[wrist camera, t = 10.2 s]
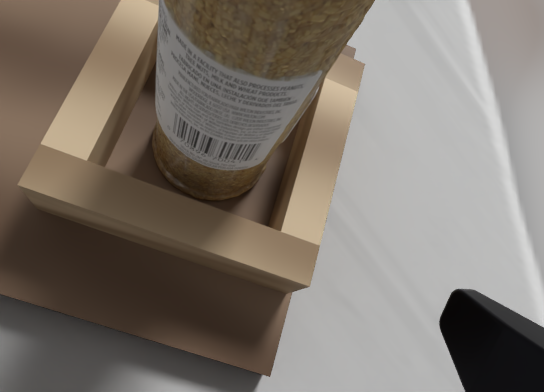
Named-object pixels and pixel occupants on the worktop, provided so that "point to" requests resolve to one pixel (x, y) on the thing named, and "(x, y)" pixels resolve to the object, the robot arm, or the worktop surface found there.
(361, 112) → the worktop surface
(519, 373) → the robot arm
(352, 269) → the worktop surface
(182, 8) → the spice jar
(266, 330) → the socket
